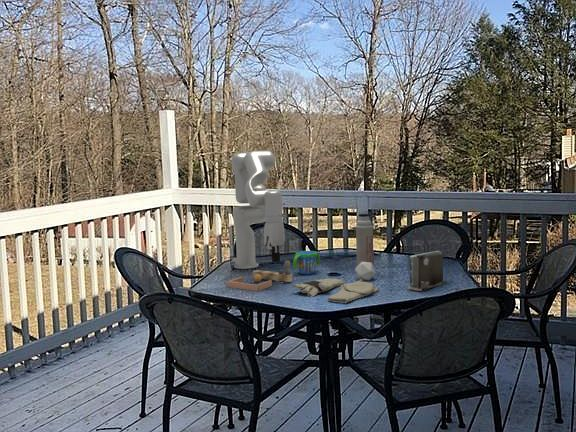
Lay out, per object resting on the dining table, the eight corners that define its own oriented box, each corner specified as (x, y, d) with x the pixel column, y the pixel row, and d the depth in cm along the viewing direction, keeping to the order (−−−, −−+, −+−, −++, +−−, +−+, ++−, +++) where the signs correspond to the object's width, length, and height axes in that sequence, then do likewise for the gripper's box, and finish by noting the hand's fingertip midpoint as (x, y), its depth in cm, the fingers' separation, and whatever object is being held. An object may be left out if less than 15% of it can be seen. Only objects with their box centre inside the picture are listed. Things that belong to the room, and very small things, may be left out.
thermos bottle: (377, 273, 267) (376, 213, 264) (363, 275, 263) (361, 215, 260) (367, 270, 274) (366, 212, 271) (353, 272, 270) (352, 214, 267)
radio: (435, 279, 251) (435, 246, 249) (452, 282, 244) (452, 248, 243) (402, 289, 236) (402, 254, 234) (420, 292, 229) (419, 256, 227)
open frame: (227, 287, 251) (226, 281, 251) (241, 282, 260) (241, 276, 260) (257, 291, 242) (257, 285, 241) (272, 285, 250) (271, 280, 250)
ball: (252, 282, 259) (252, 274, 258) (257, 280, 262) (256, 272, 261) (258, 283, 257) (258, 275, 256) (263, 281, 260) (263, 273, 259)
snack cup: (313, 269, 282) (313, 248, 280) (326, 272, 273) (326, 251, 272) (287, 274, 273) (286, 253, 272) (299, 277, 264) (299, 256, 263)
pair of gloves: (289, 294, 236) (288, 282, 235) (329, 282, 254) (329, 271, 253) (345, 306, 215) (345, 293, 214) (385, 292, 233) (385, 280, 232)
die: (379, 280, 256) (371, 261, 260) (375, 274, 249) (368, 255, 253) (362, 286, 257) (355, 267, 262) (358, 281, 250) (351, 261, 254)
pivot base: (272, 282, 256) (272, 281, 256) (279, 279, 261) (279, 279, 261) (283, 283, 253) (283, 283, 253) (290, 281, 258) (290, 280, 258)
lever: (253, 277, 264) (252, 258, 263) (257, 276, 267) (256, 257, 266) (288, 281, 253) (288, 261, 252) (292, 280, 255) (291, 260, 254)
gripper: (277, 217, 254) (278, 258, 255) (256, 221, 241) (258, 264, 243) (290, 217, 249) (292, 259, 251) (270, 221, 237) (273, 265, 239)
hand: (276, 261), depth 247 cm, fingers closed
